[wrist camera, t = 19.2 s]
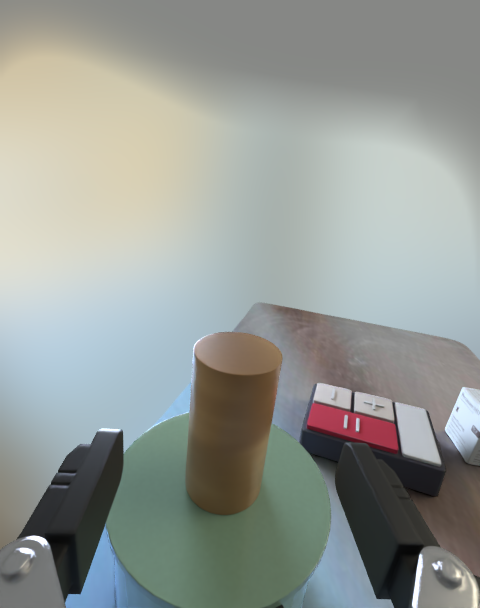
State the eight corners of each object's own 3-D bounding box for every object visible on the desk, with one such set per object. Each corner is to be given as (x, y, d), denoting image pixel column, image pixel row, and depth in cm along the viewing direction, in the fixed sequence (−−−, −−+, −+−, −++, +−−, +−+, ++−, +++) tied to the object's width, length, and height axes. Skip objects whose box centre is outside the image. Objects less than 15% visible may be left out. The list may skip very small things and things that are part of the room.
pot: (114, 815, 15) (107, 712, 12) (107, 504, 29) (103, 419, 26) (356, 665, 21) (396, 568, 18) (252, 466, 35) (263, 393, 32)
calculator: (314, 378, 47) (429, 405, 42) (311, 403, 48) (422, 431, 43) (301, 424, 37) (449, 466, 32) (297, 454, 38) (438, 498, 33)
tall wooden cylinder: (195, 526, 19) (208, 380, 15) (178, 458, 23) (184, 334, 20) (274, 502, 21) (299, 368, 17) (243, 444, 25) (259, 329, 22)
